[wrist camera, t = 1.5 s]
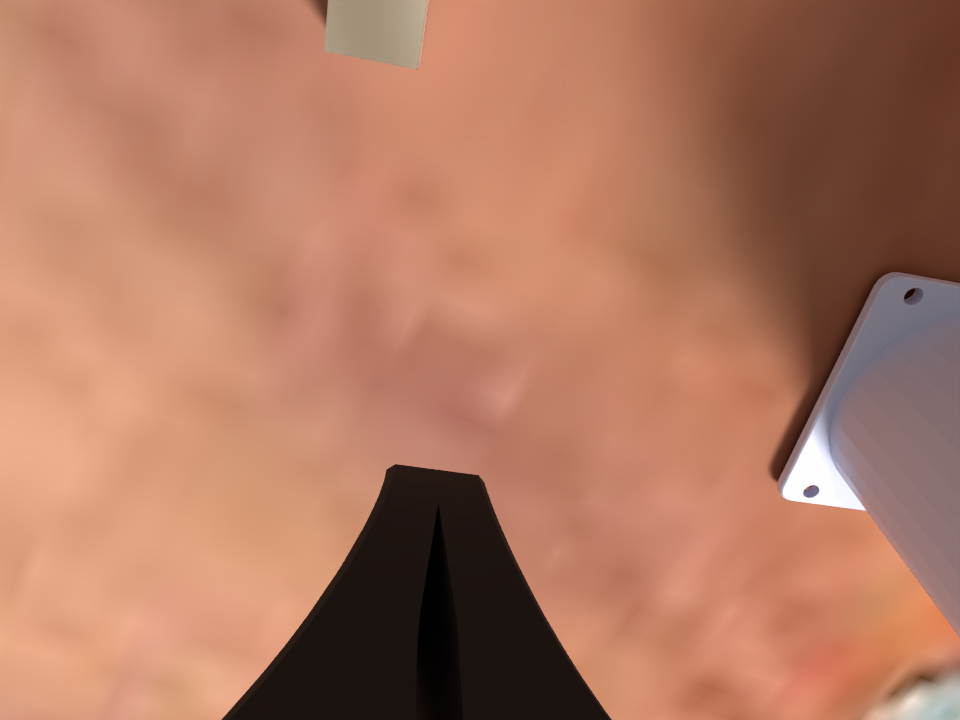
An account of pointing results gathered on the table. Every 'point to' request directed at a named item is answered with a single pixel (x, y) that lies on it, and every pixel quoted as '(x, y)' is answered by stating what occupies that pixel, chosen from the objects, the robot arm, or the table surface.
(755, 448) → the table surface
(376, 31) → the stop rail
